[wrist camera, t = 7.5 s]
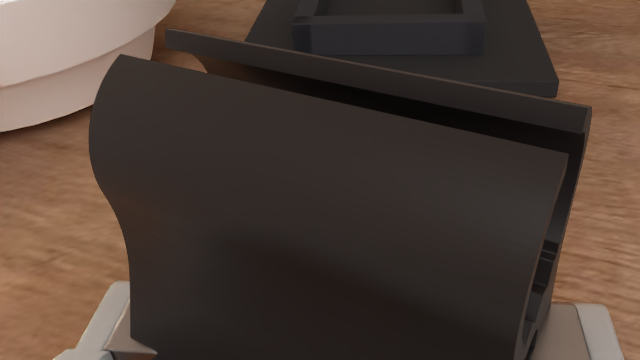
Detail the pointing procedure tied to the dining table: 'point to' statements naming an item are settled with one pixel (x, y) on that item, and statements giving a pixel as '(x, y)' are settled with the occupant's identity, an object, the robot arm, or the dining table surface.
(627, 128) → the dining table surface
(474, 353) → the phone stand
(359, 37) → the dock pad
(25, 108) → the bowl
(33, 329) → the dining table surface
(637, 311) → the dining table surface
